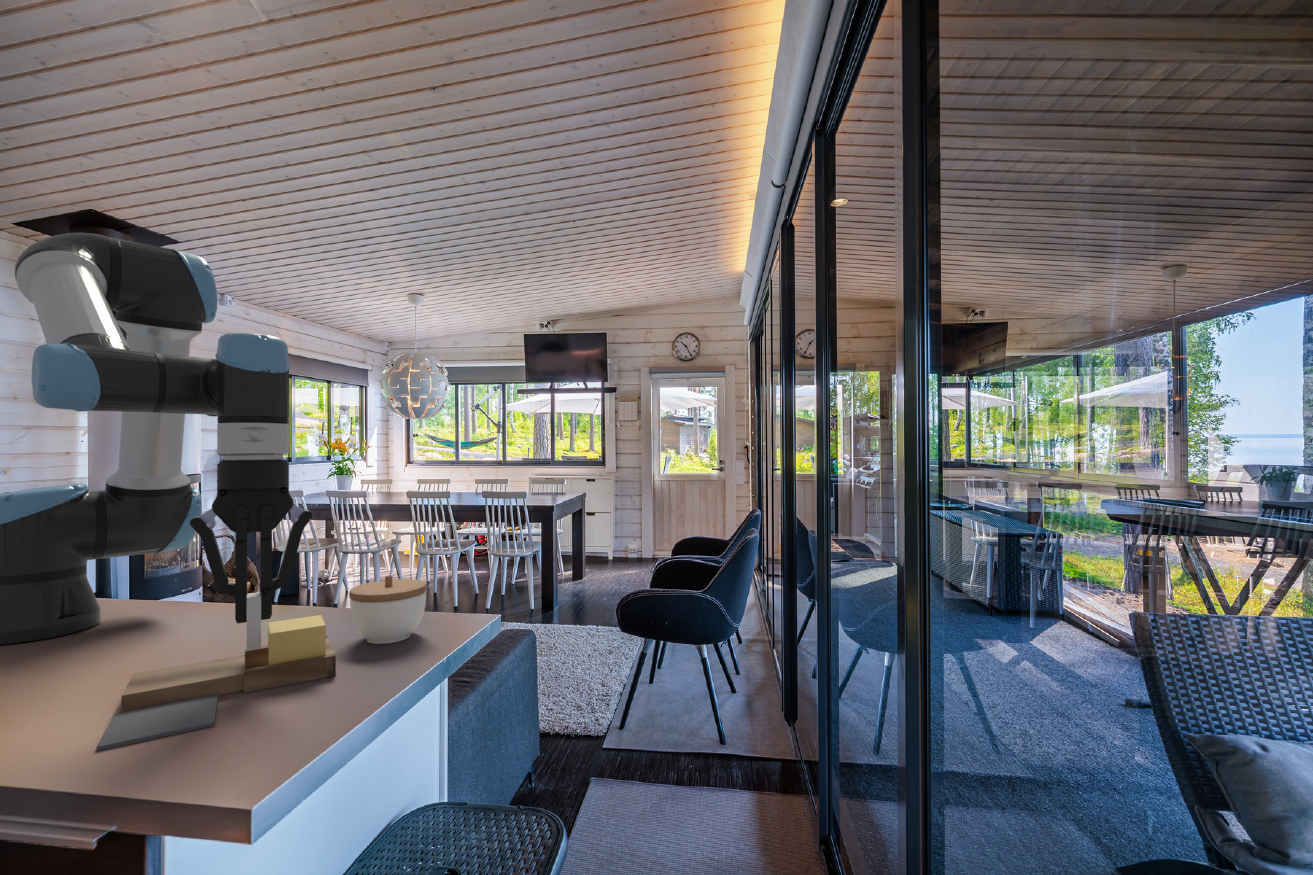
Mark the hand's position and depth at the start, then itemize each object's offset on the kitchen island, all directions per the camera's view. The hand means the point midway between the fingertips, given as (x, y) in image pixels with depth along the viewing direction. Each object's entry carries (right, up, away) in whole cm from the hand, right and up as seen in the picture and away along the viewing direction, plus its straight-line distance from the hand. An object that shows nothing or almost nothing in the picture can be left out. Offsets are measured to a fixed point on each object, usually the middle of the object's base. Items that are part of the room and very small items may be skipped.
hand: (253, 646), depth 75 cm
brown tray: (-1, -4, -1) cm, 4 cm away
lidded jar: (+10, -4, +16) cm, 19 cm away
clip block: (+4, -1, +2) cm, 5 cm away
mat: (-1, -4, -12) cm, 13 cm away
